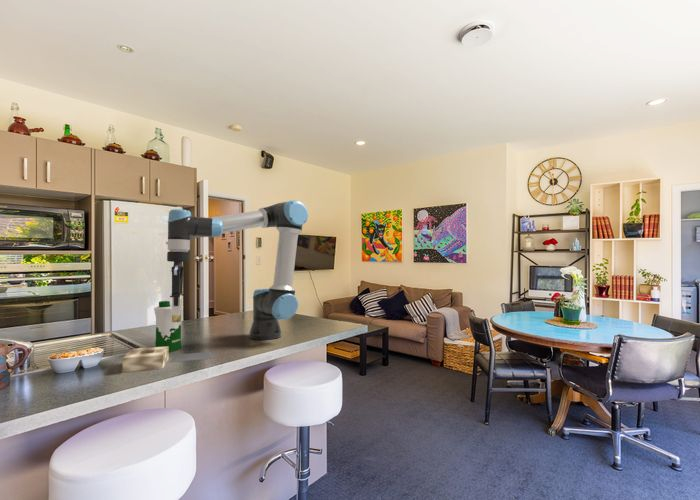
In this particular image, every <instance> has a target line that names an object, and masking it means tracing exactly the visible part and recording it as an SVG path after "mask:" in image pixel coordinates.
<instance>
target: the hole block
mask: <svg viewBox="0 0 700 500" xmlns="http://www.w3.org/2000/svg"><path fill="white" fill-rule="evenodd" d="M169 353H170V352H169V346H165V347H155V346H154V347H141V348H140V347H138V348H131V349H130V350H129V351H128V352H127V353H126V354H125V355H124V356H123V357H122V370H121V371H122V373H127V372H141V371H152V370H160V369H161V370H162V369H164V367H165V366H166V364H167V362H168V360H170V358H169V356H170V355H169Z"/></svg>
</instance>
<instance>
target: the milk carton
mask: <svg viewBox="0 0 700 500" xmlns="http://www.w3.org/2000/svg"><path fill="white" fill-rule="evenodd" d="M183 309H184V306H183V305H182V309H181V316H182V313H183ZM153 311H154V314H155V344H154V347H165V346H169V353H172V352H175V351H178V350H180V349H182V348H183V347H182V321H181V322H172V304H171V301H170V300H162V301H159V302H158V306H156V307H154V308H153Z"/></svg>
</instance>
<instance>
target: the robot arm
mask: <svg viewBox="0 0 700 500" xmlns="http://www.w3.org/2000/svg"><path fill="white" fill-rule="evenodd" d="M308 218H309V211H308V208H307V207H306V205H305V204H304V203H303V202H301V201H299V200H296V199H295V200H292V199H291V200H287V201H283V202H277V203H276V204H275V203H274V204H272V205H269V206H265V207H260V208H258V210H252V211H246V212H238V213H233V214H232V213H231V214H226V215H225V214H224V215H220V216H219V215H218V216H213V217H204V216H203V217H201V216H200V217H199V216H193V215H192V213H191V211H190V210H188V209H177V208H175V209H171V210H170V211H168V218H167V219H168V220H167V241H166V242H165V245H167V250H168V251H167V253H166V260H167V262H170V263H171V262H173V266H171V271H170V272H171V294H170V295H169V298H172V299H171V300H172V301H171V305H172V315H180V306H181V309H182V306H183V305H182V304H181V297H180V294H182V297H183V296H185V293H184V291H183V286H184V274H185V266H183V263H184V262H185V263H186V262H187V263H188V262H190V252H189V251H190V249H191V238H192V239H197V238H219V237H221V236H222V235H223V234H226V233H230V232H236V231H242V230H247V229H253V228H259V227H261V228H263V229H266V228H276V230H277V231H278V232H279V233H278V243H277V251H276V257H275V258H276V259H275V265H274V266H275V267H274V275H273V284H272V285H271V286H270V287H269V288H259V289H257V288H256V289H255V290H254V291H253V294H252V295H253V296H252V299H253V300H252V301H253V303H252V305H253V307H252V311H253V312H252V318H253V319H252V320H253V321H252V323H251V327H250V329H249V332H248V336H249V338H250V339H252V340H257V341H268V340H269V341H270V340H274V339H278V338H281V337H282V328H281V326H280V321H279V320H282V321H283V320H285V321H286V320H289V319H290V318H292V317H293V316H294V315H296V313H297V311H298V309H299V300H298V299H297V297H296V295H295V293H296V289H295V288H294V287H293V284H294V283H293V281H294V276H295V275H294V274H295V264H296V255H297V248H298V247H297V246H298V238H299V235H300V233H302V231H303V225H305V224H306V223H307V222H308ZM182 310H183V309H182Z"/></svg>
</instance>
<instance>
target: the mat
mask: <svg viewBox="0 0 700 500" xmlns="http://www.w3.org/2000/svg"><path fill="white" fill-rule="evenodd" d="M212 355H213V351H205V352H204V351H203V352H190V353H177V354H173V355H172V357H171V359H169V360H170V361H169V363H178V362H179V363H180V362H189V361H201V360H211V359H212Z"/></svg>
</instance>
